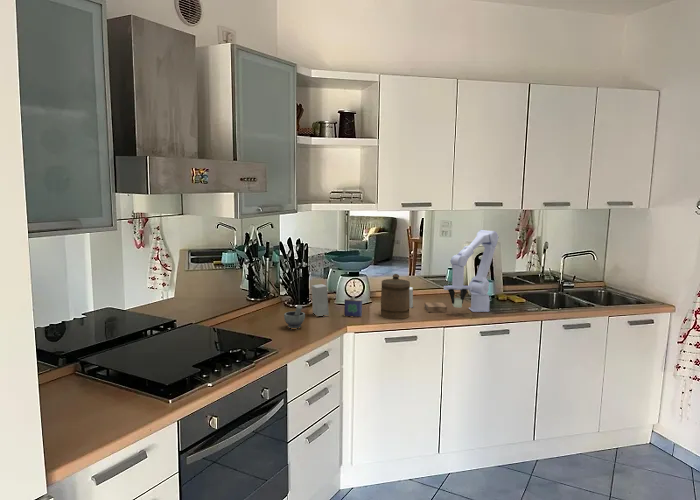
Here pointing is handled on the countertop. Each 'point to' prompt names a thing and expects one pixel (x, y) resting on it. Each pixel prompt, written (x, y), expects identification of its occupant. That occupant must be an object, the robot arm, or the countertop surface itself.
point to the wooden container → (395, 298)
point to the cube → (457, 302)
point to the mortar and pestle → (295, 317)
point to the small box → (411, 297)
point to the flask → (353, 307)
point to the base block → (435, 307)
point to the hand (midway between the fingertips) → (457, 303)
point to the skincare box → (320, 300)
